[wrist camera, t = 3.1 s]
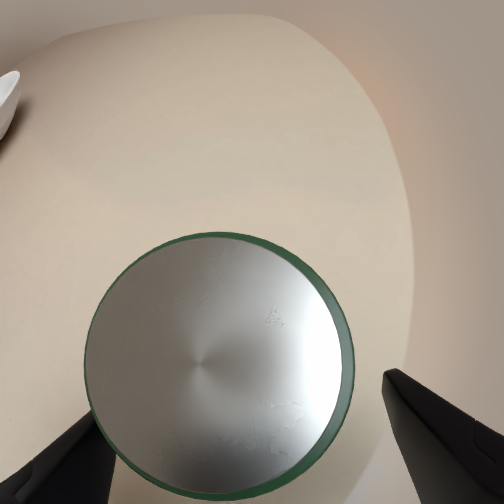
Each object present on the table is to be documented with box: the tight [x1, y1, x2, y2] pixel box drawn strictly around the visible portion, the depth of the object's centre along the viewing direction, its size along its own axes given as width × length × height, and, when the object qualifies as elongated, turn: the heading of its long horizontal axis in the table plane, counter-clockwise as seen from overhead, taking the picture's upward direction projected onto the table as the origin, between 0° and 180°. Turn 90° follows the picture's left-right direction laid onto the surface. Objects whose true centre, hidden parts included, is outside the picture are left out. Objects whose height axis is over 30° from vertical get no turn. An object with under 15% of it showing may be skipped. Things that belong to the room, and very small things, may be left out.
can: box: [84, 232, 355, 501], centre depth 11 cm, size 6×6×12 cm
